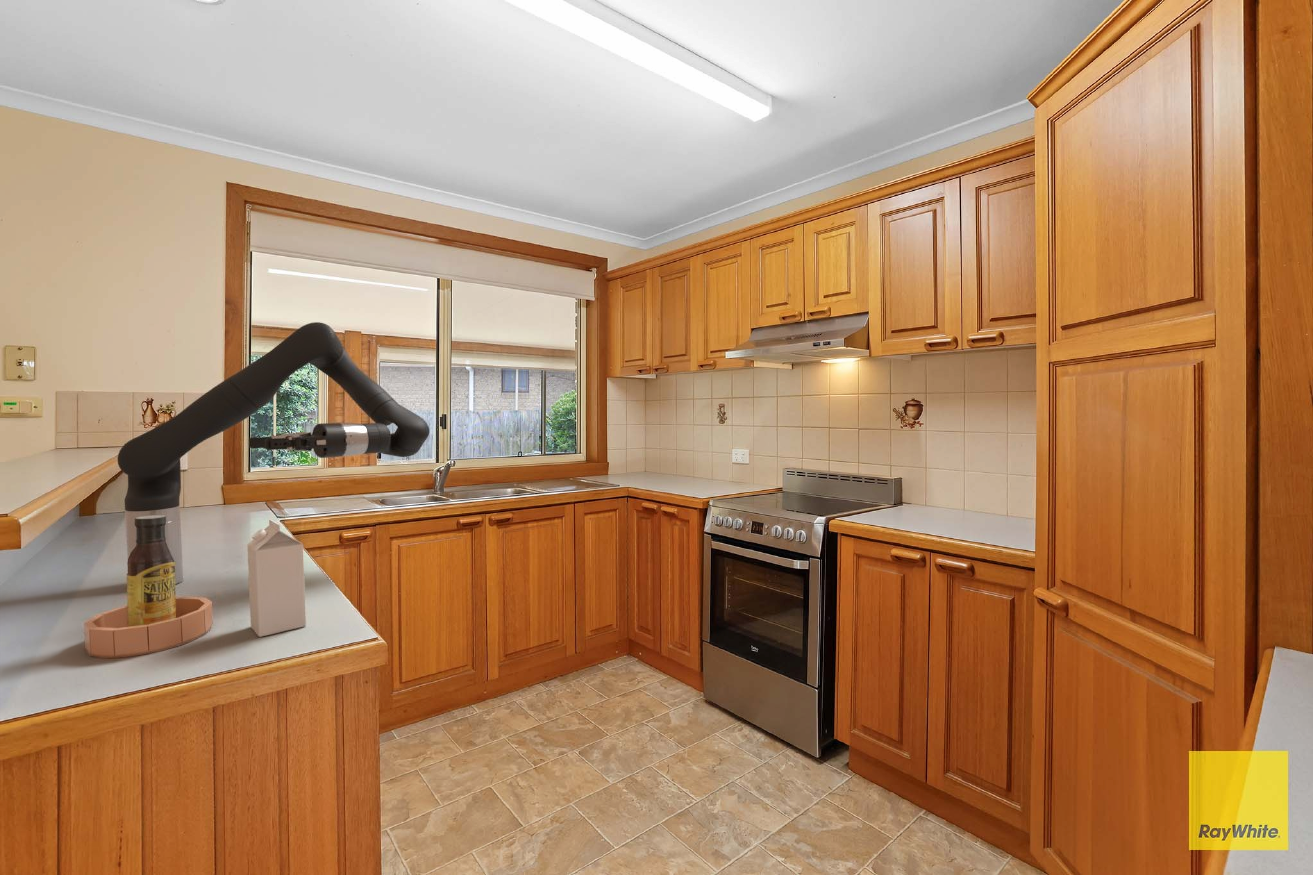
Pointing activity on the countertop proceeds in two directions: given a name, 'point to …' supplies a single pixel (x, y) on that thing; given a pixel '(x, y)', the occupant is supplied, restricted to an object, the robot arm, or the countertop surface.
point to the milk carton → (276, 581)
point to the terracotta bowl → (147, 630)
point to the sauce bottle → (150, 574)
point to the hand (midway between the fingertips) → (257, 443)
